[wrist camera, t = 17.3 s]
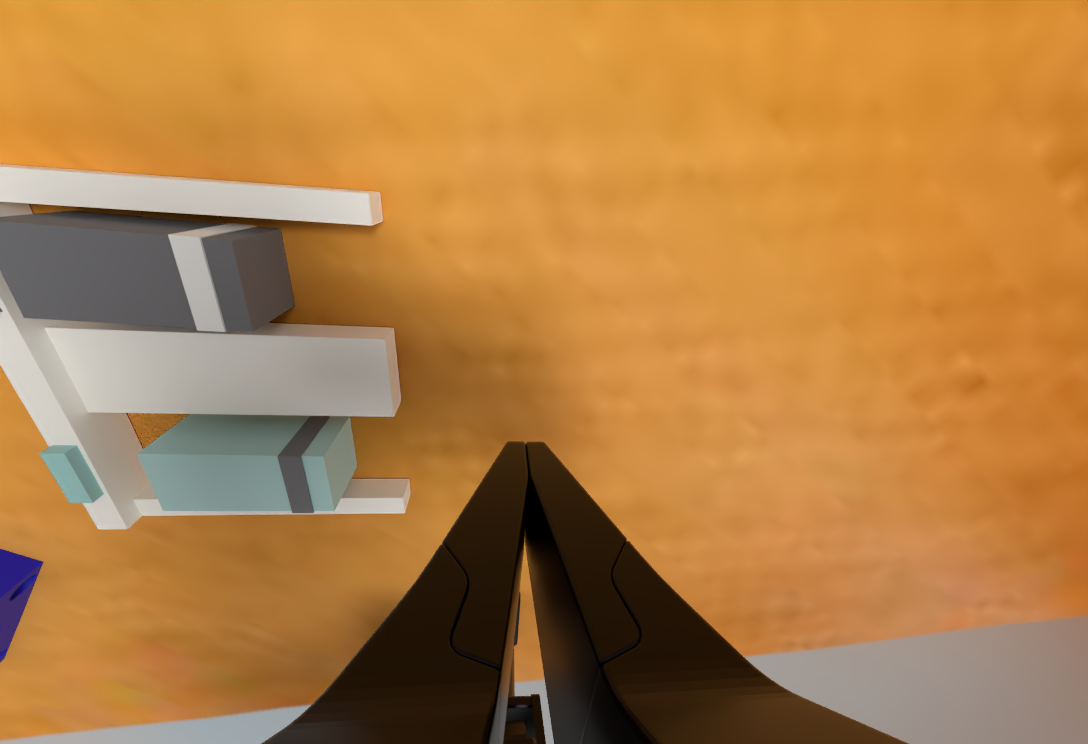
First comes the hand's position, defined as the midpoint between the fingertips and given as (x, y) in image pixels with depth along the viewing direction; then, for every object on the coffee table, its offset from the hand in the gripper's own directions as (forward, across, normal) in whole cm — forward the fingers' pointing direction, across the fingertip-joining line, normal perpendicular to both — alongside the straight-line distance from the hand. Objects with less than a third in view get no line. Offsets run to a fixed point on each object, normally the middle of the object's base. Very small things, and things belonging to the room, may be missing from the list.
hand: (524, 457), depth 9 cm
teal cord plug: (+12, +13, +9) cm, 20 cm away
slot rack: (+12, +13, +4) cm, 18 cm away
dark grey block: (+12, +14, -1) cm, 19 cm away
